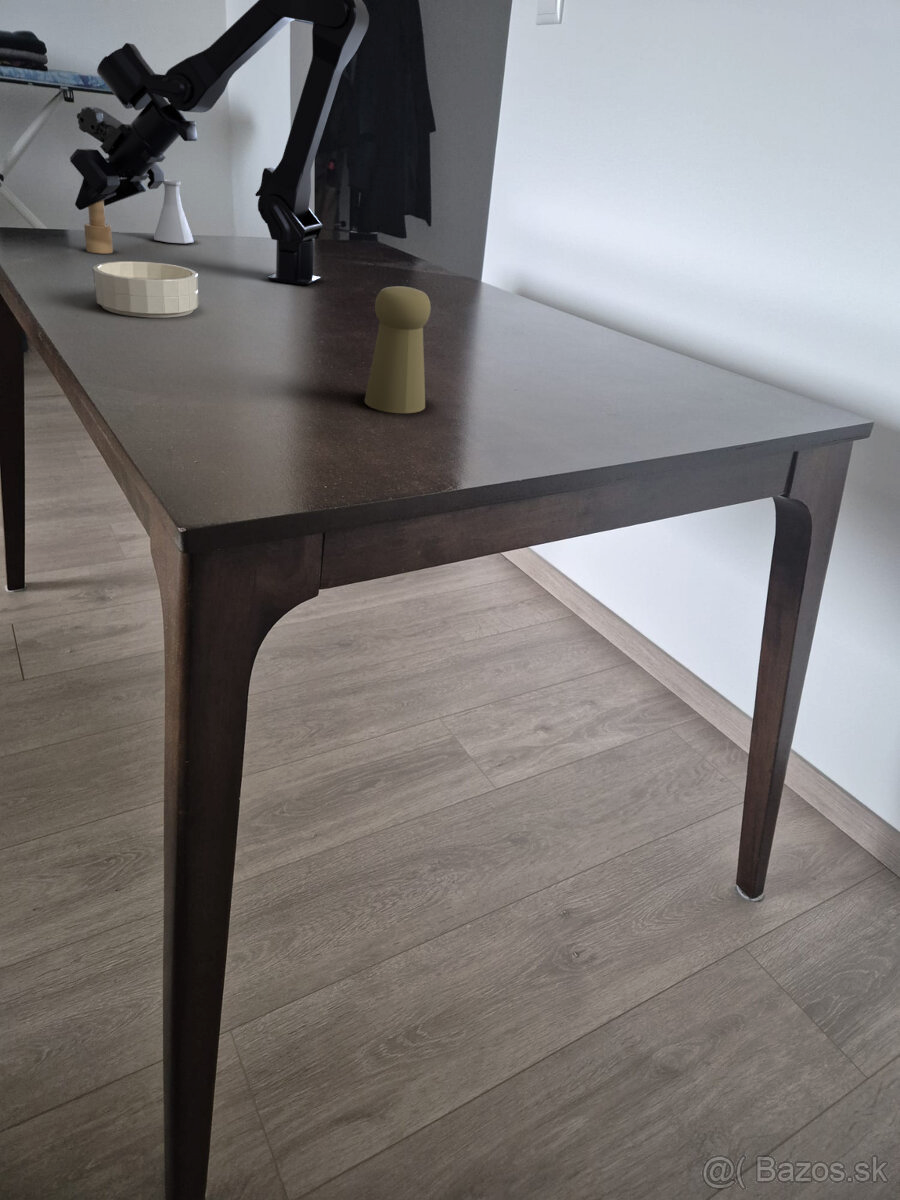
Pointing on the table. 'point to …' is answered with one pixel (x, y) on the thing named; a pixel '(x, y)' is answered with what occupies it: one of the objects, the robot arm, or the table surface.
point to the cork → (399, 351)
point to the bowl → (146, 289)
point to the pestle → (98, 231)
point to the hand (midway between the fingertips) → (88, 206)
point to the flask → (172, 217)
